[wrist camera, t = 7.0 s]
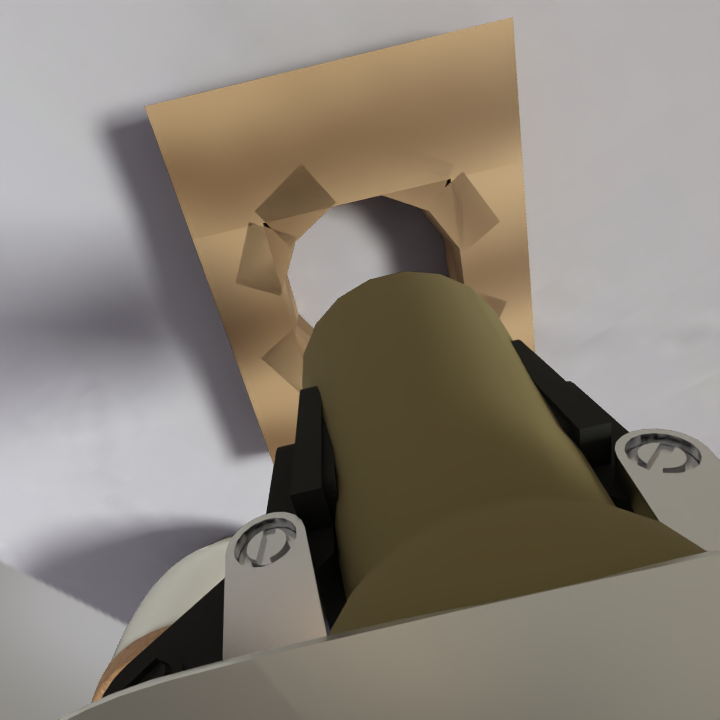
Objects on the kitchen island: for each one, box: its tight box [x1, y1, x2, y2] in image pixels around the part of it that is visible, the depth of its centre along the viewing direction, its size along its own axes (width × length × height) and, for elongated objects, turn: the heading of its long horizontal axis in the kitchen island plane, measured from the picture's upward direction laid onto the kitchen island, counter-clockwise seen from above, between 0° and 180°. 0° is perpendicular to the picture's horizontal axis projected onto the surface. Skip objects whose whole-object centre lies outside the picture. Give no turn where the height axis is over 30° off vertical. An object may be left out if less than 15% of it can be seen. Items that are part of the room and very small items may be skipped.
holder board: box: [145, 17, 535, 464], centre depth 22 cm, size 18×14×3 cm
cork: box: [302, 271, 707, 636], centre depth 8 cm, size 6×6×11 cm
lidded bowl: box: [91, 536, 233, 703], centre depth 26 cm, size 13×13×11 cm
